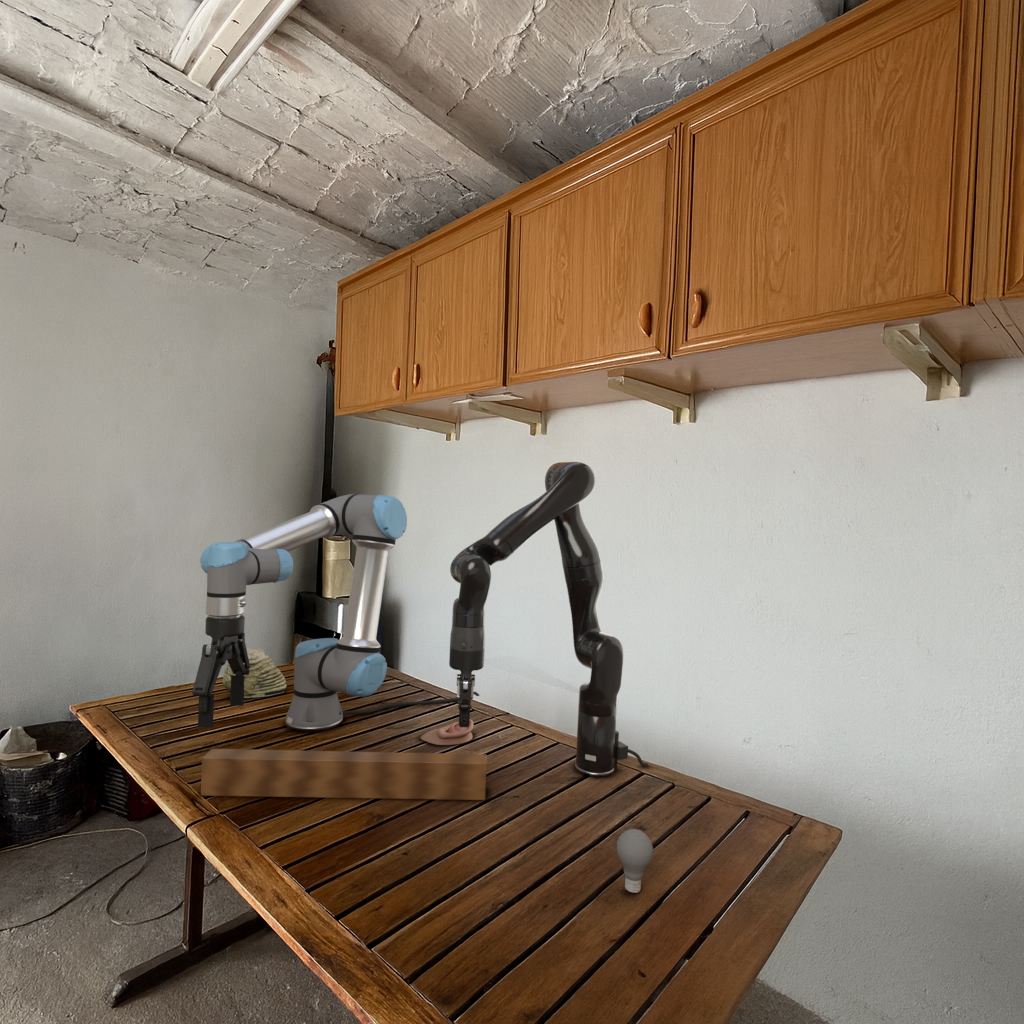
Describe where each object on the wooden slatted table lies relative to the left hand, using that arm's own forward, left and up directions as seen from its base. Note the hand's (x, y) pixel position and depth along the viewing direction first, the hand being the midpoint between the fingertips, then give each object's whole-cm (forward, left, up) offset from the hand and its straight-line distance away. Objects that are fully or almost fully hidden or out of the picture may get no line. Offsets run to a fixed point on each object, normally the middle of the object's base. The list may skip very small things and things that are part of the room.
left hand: (221, 715), depth 134 cm
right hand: (-35, +38, 0) cm, 51 cm away
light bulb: (-29, +82, -16) cm, 89 cm away
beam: (-18, +19, -16) cm, 31 cm away
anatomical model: (-55, +13, -16) cm, 59 cm away
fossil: (-38, -54, -16) cm, 68 cm away
